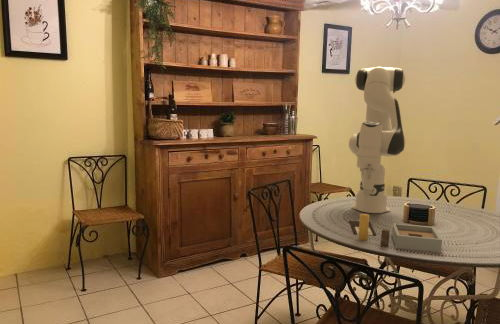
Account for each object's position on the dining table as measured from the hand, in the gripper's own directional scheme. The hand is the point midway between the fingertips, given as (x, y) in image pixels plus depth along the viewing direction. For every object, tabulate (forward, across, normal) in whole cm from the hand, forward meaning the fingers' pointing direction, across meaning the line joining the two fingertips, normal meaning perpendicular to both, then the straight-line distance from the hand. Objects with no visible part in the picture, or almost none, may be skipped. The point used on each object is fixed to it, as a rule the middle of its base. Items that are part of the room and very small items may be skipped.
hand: (366, 197), depth 166 cm
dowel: (+17, 0, 0) cm, 17 cm away
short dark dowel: (+17, -5, -8) cm, 20 cm away
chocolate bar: (+18, +14, 0) cm, 23 cm away
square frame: (+17, +1, -20) cm, 26 cm away
